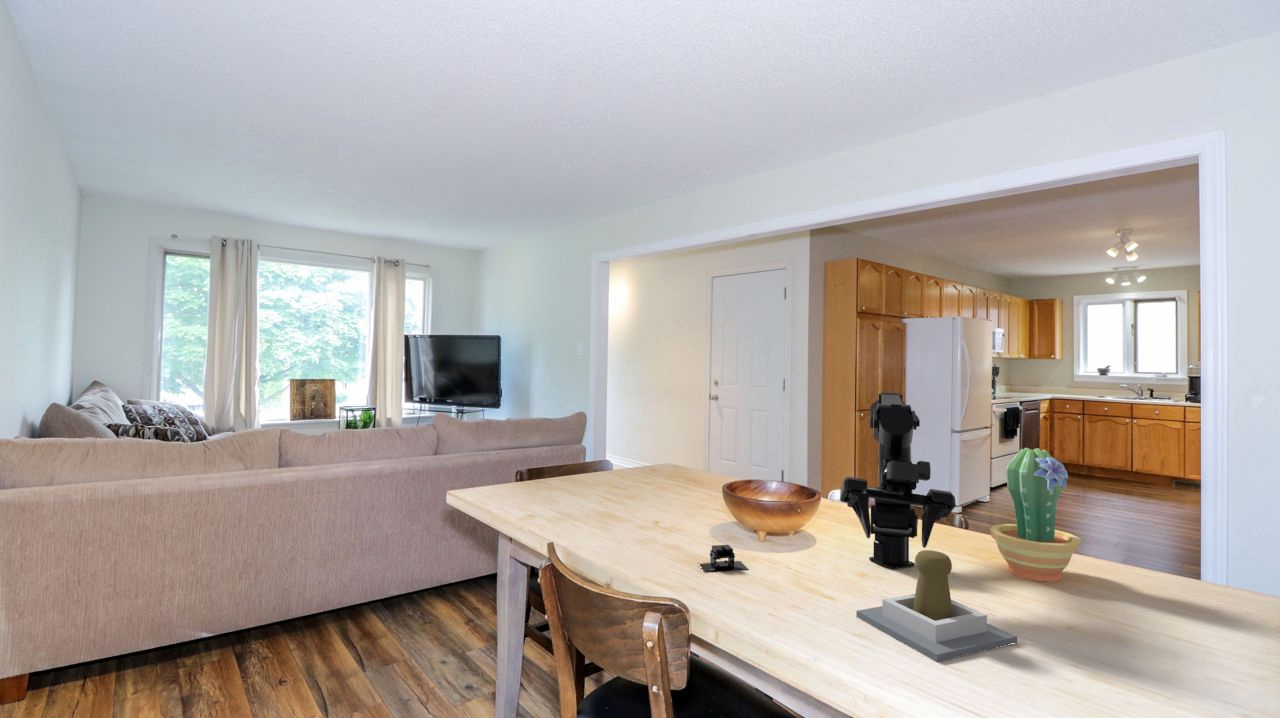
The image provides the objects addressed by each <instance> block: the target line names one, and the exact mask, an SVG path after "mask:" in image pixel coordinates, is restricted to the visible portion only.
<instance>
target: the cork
mask: <svg viewBox="0 0 1280 718" xmlns="http://www.w3.org/2000/svg"><path fill="white" fill-rule="evenodd" d="M914 563H915V565H914V566H915V568H916V570H917V571H918V573H917V574H918V575H917V581H916V587H915V593H914V594H915V600H914V606H913V611H916V612H918V613H920V614H922V615H924V616H926V617H928V618H930V619H932V620H934V621H937V620H942V619H947V618H952V617H953V612H952V605H951V600H952V597H951V591H950V584H949V577H948V576H949V575H950V574H951V572H952V570H953V567H952V566H953V563H952V560H951V558H950V557H949V555H947V554H946V553H944V552H941V551H937V550H928V549H925V550H921V551H918V552H917V554H916V555H915V558H914Z"/></svg>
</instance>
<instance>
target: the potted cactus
mask: <svg viewBox="0 0 1280 718" xmlns="http://www.w3.org/2000/svg"><path fill="white" fill-rule="evenodd" d="M1005 470H1006V482H1007V490H1008V492H1009V494H1010V496H1011V499H1012V501H1013V506H1014V513H1015V520H1016V524H1015V523H1014V524H1013V523H1003V524H995V525H992V526H991V527H990V528H989V533H990V537H991V538H992V539H994V540H995V543H996V545H997V548H998V551H999V553H1000V554H1001V556H1002V558H1003V559H1004V560H1005V562H1006V563H1007V564H1008V568H1007V572H1009V573H1010V574H1011V575H1013V576H1016V577H1019V578H1021V577H1022V578H1021V579H1024V578H1026V579H1025V580H1029V579H1030V580H1029V581H1034V580H1036V581H1035V582H1041V581H1047V582H1046V583H1055V582H1054V581H1056V582H1060V581H1061V580H1060V579H1062V575H1061V573H1062V572H1063V571H1064V570H1065V569H1066V567H1068V566H1069V563H1070V561H1071V559H1072V556H1073V554H1074V553H1075V552H1078V551H1079V548H1080V545H1081V542H1082V539H1081V538H1080V537H1078V536H1076V535H1074V534H1072V533H1070V532H1066V531H1061V530H1057V529H1056V505H1057V503H1058V501H1059V498H1060V495H1061V494H1062V493H1061V492H1062V489H1063V490H1067V479H1068V478H1069V475H1068V472H1067V470H1066V468H1065V466H1064V464H1063V462H1060V461H1058V460H1057V459H1055V458H1054V457H1053V456H1052V455H1051V454H1050V453H1049V452H1048V450H1046V449H1043V450H1041V448H1038V447H1037V448H1034V449H1031V448H1028V447H1024V448H1020V450H1018V452H1017V453H1016V455H1015V456H1014V457H1012V459H1011V461H1010V462H1009V463H1008V465H1007V466H1006V469H1005Z"/></svg>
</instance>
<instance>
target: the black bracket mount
mask: <svg viewBox="0 0 1280 718" xmlns="http://www.w3.org/2000/svg"><path fill="white" fill-rule="evenodd" d="M709 556H710V558H709V560H710V562H702V564H700V563H699V564H700V566H701V567H702V568H700V569H701V570H702V569H703V570H702V571H703V572H704V573H722V572H723V573H724V572H737V571H738V572H739V571H749V570H750V569H749V568H748V567H747V565H745V564H744V563H743V562H742V561H741V560H735V558H736V555H735V553H734V549H733V548H732V547H731V546H730V545H729V544H714V545H711V549H710V553H709ZM721 559H728V560H721ZM717 560H718V561H717ZM719 560H721V561H719Z"/></svg>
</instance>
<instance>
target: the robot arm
mask: <svg viewBox="0 0 1280 718" xmlns="http://www.w3.org/2000/svg"><path fill="white" fill-rule="evenodd" d="M915 411H916V410H912V406H911V404H906V402H905V401H903V394H902V393H899V392H881V393H878V398H877V400H875V401H874V402H873V403H872V404H871V405H870V411H869V415H870V416H869V417H870V418H869V419H870V420H869V421H870V423H869V426H870V427H869V428H870V429H872V430H873V435H872V437H873V438H874V439H875V441H876V442H877V443H878V486H877V487H871V486H868V479H866V478H865V479H864V478H859V477H854V476H853V477H851V476H846V477H845V478H844V479H843V481H842V484H841V487H840V492H839V493H840V496H839V501H840V502H842V503H846V504H847V505H846V506H847V507H848V508H852V510H853V511H854V513H855V514H856V517H857V518H858V519H859V522H860V525H861V527H862V530H863V532H864V534H865V536H866V539H870V538H871V535H874V540H873V556H870V557H868V558H869V559H868V560H869V561H871V562H874V563H876V564H878V565H881V566H883V567H886V568H888V569H891V570H894V569H901V568H907V567H914V566H916V565H915V562H913V561H911V560H910V559H909V558H910V557H909V556H910V553H909V552H910V547H909V546H910V543H909V542H910V538H911V539H915V537H918V524H919V523H918V522H919V515H918V514H917V513H916V511H915V508H914V507H912V505H915V506H920V507H921V506H922V508H923V510H922V511H923V514H922V515H921V544H922V548H927V546H928V544H929V543H928V542H929V539H930V537H931V533H932V531H933V527H934V525H935V522H937V521H941V520H942V518H943V519H945V518H947V517H949V515H950V514H951V513H952V512H953V511H954V509H955V507H956V497H955V495H954V494H953V492H951V491H948V490H947V491H946V490H941V489H935V488H933V489H932V488H930V489H929V490H928V492H927V494H918V493H913V491H915V490H916V489H917V487H918V486H917V484H920V483H919V482H920V481H925V482H926V481H930V479H931V462H930V461H923V460H919V461H917V462H916V463H913V462H912V447H911V445H912V443H913V435H914V430H917V427H918V428H919V427H921V426H920V424H921V420H920V418H919V416H918V415H917V414H916V412H915ZM869 499H874V503H873V504H869ZM869 505H870V509H869Z"/></svg>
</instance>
